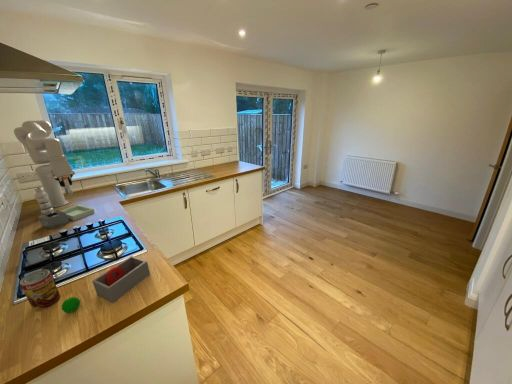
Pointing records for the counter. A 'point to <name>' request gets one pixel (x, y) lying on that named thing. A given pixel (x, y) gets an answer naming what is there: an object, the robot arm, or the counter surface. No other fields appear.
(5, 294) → the counter surface
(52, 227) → the hitch block
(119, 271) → the red rounded piece
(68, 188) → the hitch pin
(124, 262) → the grey open box
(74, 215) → the tray
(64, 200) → the robot arm
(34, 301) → the canned food
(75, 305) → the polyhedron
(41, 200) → the plastic bottle
